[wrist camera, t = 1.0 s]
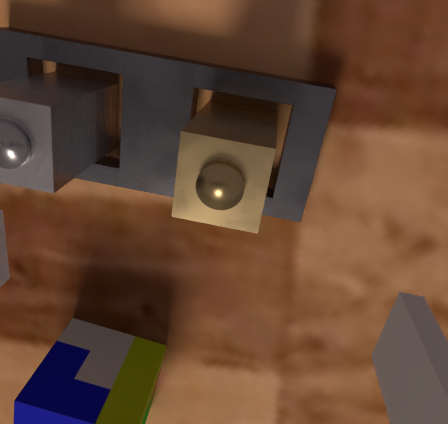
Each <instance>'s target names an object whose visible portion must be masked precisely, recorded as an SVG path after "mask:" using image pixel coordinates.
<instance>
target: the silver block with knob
mask: <svg viewBox="0 0 448 424" xmlns="http://www.w3.org/2000/svg"><path fill="white" fill-rule="evenodd" d="M118 107H119V83H117V82H111V81H106V80H100V79H95V78H89V77H84V76H78V75H73V74H67V73H62V72H57V71H55V72H49V73H44V74H39V75H34V76H29V77H24V78H18V79H13V80H8V81H3V82H0V183H4V184H9V185H14V186H19V187H24V188H30V189H35V190H40V191H45V192H50V193H55V192H56V191H58V190H59V189H60V188H62V187H63V186H64V185H66V184H67V183H68V182H70V181H71V180H72V179H74V178H75V177H77V176H78V175H79V174H81V173H82V172H83V171H85V170H86V169H87V168H89V167H90V166H91V165H93V164H94V163H96V162H97V161H98V160H100V159H101V158H102V157H104V156H105V155H106V154H108V153H109V152H111V151H112V150H113V149H115V148H116V147H117V134H118Z"/></svg>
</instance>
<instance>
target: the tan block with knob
mask: <svg viewBox="0 0 448 424" xmlns="http://www.w3.org/2000/svg"><path fill="white" fill-rule="evenodd" d="M276 122H277V112H275V111H270V110H264V109H259V108H254V107H248V106H243V105H237V104H232V103H226V102H221V101H215V100H210V101H209V102H208V103H207V104H206V105H205V106H204V107H203V108H202V109H201V110H200V111H199V112H198V113H197V114H196V116H195V117H194V118H193V119H192V120H191V121H190V122H189V123H188V124H187V125H186V126H185V127H184V128H183V129H182V130H181V134H180V143H179V152H178V161H177V171H176V180H175V189H174V198H173V207H172V217H176V218H182V219H187V220H192V221H197V222H202V223H207V224H212V225H217V226H222V227H227V228H232V229H237V230H242V231H248V232H253V233H258V229H259V225H260V220H261V216H262V211H263V207H264V202H265V197H266V193H267V188H268V184H269V179H270V175H271V170H272V166H273V161H274V157H275V152H276Z"/></svg>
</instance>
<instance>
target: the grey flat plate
mask: <svg viewBox="0 0 448 424" xmlns="http://www.w3.org/2000/svg"><path fill="white" fill-rule="evenodd" d="M42 60H47V61H52V62H58V63H63V64H69V65H74V66H80V67H85V68H91V69H96V70H102V71H107V72H113V73H118V74H123V93H122V118H121V142H120V159H116V158H111V157H106V156H104V157H102V158H101V159H100V160H98V161H97V162H96V163H94V164H93V165H91V166H90V167H89V168H87V169H86V170H85V171H83V172H82V173H81V174H79V175H78V176H77V177H75V178H78V179H83V180H88V181H93V182H98V183H103V184H108V185H114V186H119V187H124V188H129V189H134V190H139V191H144V192H150V193H155V194H160V195H165V196H170V197H174V189H175V180H176V171H177V161H178V152H179V143H180V134H181V130H182V129H183V128H184V127H185V126H186V125H187V124H188V123H189V122H190V121H191V120H192V119H193V118H194V117H195V111H196V103H197V95H198V88H201V89H206V90H212V91H217V92H223V93H229V94H234V95H240V96H245V97H251V98H256V99H262V100H267V101H273V102H278V103H284V104H289V105H292V108H291V112H290V116H289V121H288V125H287V130H286V134H285V138H284V143H283V147H282V152H281V156H280V160H279V165H278V169H277V174H276V178H275V182H274V187H273V188H267V193H266V197H265V202H264V207H263V211H262V214H263V215H268V216H273V217H278V218H283V219H288V220H293V221H298V222H301V219H302V215H303V212H304V208H305V204H306V201H307V197H308V193H309V190H310V186H311V182H312V179H313V175H314V171H315V168H316V164H317V160H318V157H319V153H320V149H321V145H322V142H323V138H324V134H325V131H326V127H327V123H328V120H329V116H330V112H331V109H332V105H333V101H334V98H335V94H336V90H337V89H336V88H335V87H334V86H333V85H328V84H322V83H316V82H311V81H305V80H300V79H294V78H288V77H283V76H277V75H272V74H266V73H260V72H255V71H249V70H244V69H238V68H232V67H227V66H221V65H216V64H210V63H204V62H199V61H193V60H188V59H182V58H176V57H171V56H165V55H160V54H154V53H148V52H143V51H137V50H132V49H126V48H120V47H115V46H109V45H104V44H98V43H92V42H87V41H81V40H76V39H70V38H64V37H59V36H53V35H48V34H42V33H36V32H31V31H25V30H20V29H14V28H8V27H0V82H3V81H8V80H13V79H18V78H24V77H29V76H34V75H39V74H43V67H42Z"/></svg>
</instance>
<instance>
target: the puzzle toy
mask: <svg viewBox="0 0 448 424" xmlns="http://www.w3.org/2000/svg"><path fill="white" fill-rule="evenodd" d="M166 346H167V345H163V344H160V343H157V342H153V341H150V340H146V339H143V338H140V337H136V336H133V335H129V334H126V333H122V332H119V331H116V330H112V329H109V328H105V327H102V326H99V325H95V324H92V323H88V322H85V321H81V320H78V319H75V318H73V319H72V320H71V321H70V323H69V324H68V326H67V327H66V328H65V330H64V331H63V333H62V334H61V335H60V337H59V338H58V340H57V341H56V343H55V344H54V345H53V347H52V348H51V350H50V351H49V352H48V354H47V355H46V357H45V358H44V360H43V361H42V362H41V364H40V365H39V367H38V368H37V369H36V371H35V372H34V374H33V375H32V377H31V378H30V379H29V381H28V382H27V384H26V385H25V386H24V388H23V389H22V391H21V392H20V394H19V395H18V396H17V398H16V399H15V401H14V424H145V422H146V419H147V416H148V413H149V410H150V407H151V403H152V399H153V395H154V392H155V388H156V384H157V380H158V377H159V373H160V369H161V365H162V361H163V358H164V354H165V350H166Z"/></svg>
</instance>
